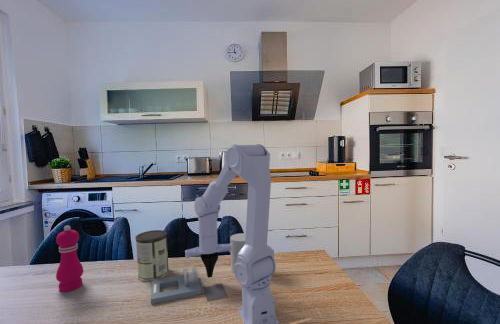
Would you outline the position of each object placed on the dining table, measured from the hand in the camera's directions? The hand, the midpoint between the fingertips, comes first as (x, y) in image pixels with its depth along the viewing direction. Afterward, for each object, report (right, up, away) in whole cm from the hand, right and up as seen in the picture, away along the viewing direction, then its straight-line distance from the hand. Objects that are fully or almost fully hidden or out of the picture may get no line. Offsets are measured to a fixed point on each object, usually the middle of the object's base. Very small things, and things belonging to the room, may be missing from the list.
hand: (209, 276), depth 83 cm
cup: (+10, -2, +9) cm, 14 cm away
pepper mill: (-45, -4, +1) cm, 45 cm away
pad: (+3, -3, -5) cm, 7 cm away
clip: (-6, -1, -2) cm, 6 cm away
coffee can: (-21, -3, +8) cm, 23 cm away
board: (-10, -3, -3) cm, 11 cm away
